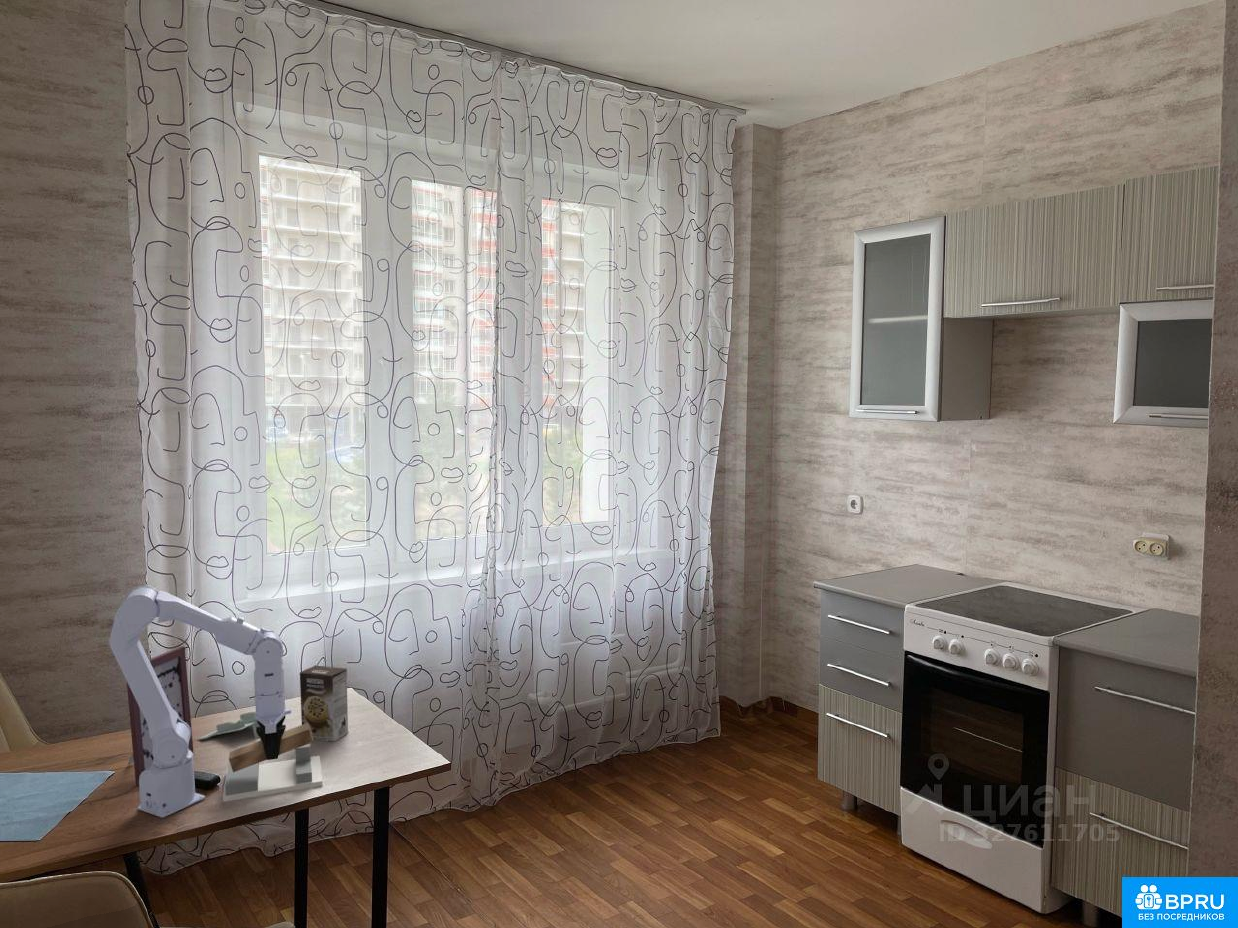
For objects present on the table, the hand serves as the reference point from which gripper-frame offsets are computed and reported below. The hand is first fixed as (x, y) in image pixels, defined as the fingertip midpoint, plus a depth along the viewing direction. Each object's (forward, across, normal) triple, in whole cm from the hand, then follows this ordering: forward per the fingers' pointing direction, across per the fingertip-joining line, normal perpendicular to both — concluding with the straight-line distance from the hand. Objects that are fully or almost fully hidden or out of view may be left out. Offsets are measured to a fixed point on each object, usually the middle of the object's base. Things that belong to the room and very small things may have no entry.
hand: (272, 754), depth 183 cm
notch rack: (+7, +3, 0) cm, 8 cm away
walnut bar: (0, 0, 0) cm, 0 cm away
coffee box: (+7, +25, -11) cm, 28 cm away
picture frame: (+7, +21, +26) cm, 34 cm away
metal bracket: (+8, +35, +8) cm, 36 cm away
